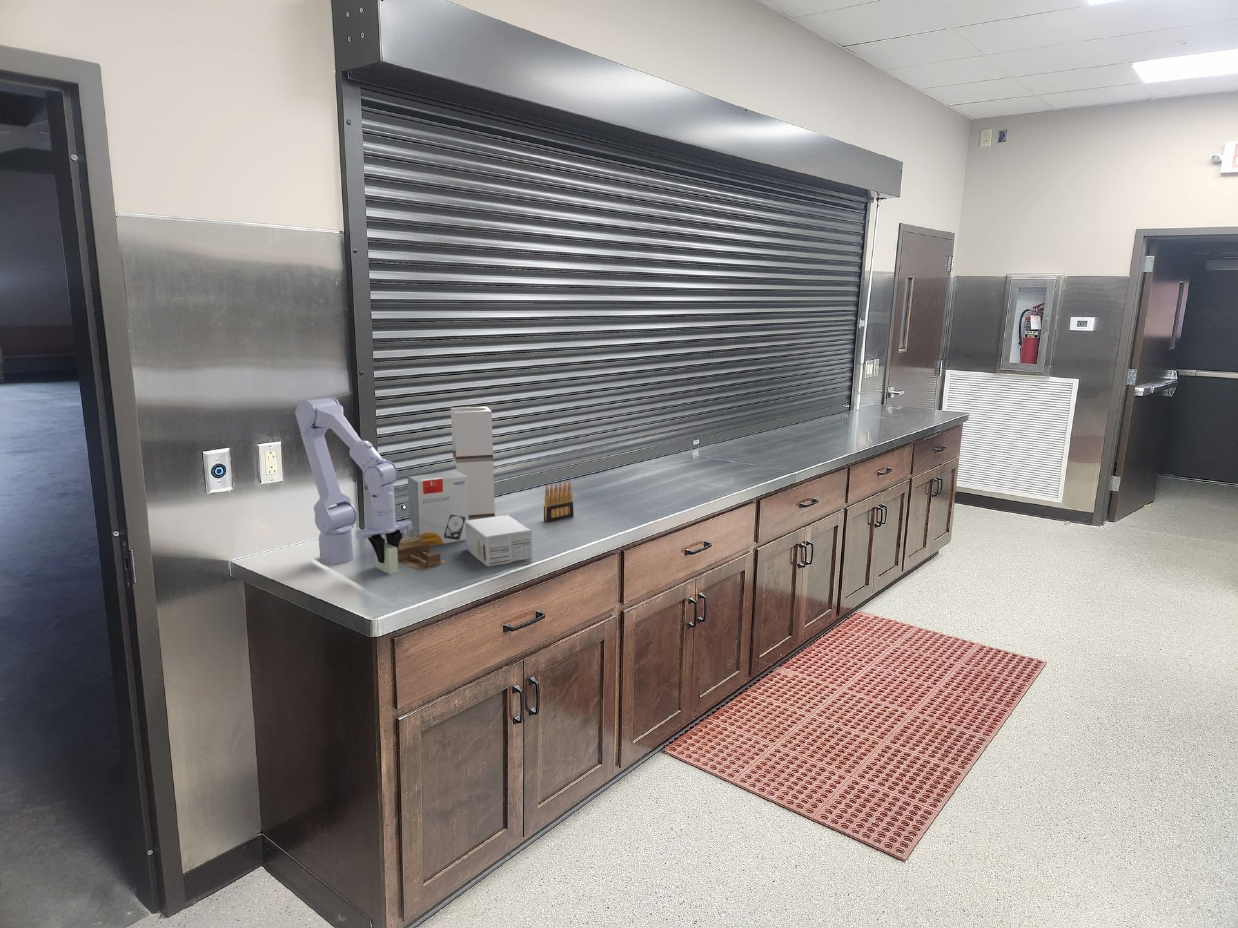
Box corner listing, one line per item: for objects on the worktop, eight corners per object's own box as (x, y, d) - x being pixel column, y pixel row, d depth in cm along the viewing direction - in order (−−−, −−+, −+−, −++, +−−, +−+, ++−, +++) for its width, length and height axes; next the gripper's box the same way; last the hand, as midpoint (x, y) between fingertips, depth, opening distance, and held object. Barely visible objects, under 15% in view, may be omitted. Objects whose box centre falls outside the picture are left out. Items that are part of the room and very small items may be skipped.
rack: (389, 559, 216) (389, 546, 215) (419, 552, 222) (418, 539, 221) (418, 573, 205) (417, 559, 205) (448, 565, 211) (447, 551, 211)
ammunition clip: (547, 522, 252) (546, 485, 249) (543, 521, 253) (542, 484, 251) (573, 516, 259) (573, 480, 256) (570, 515, 260) (570, 479, 257)
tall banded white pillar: (489, 510, 265) (486, 406, 258) (495, 519, 255) (491, 411, 248) (455, 513, 262) (450, 408, 255) (458, 522, 252) (454, 412, 245)
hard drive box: (418, 550, 224) (414, 481, 220) (409, 543, 230) (406, 476, 226) (470, 541, 232) (468, 475, 228) (461, 535, 238) (458, 470, 234)
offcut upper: (396, 548, 216) (395, 541, 215) (415, 543, 220) (414, 536, 219) (402, 551, 213) (402, 543, 213) (421, 546, 218) (421, 538, 217)
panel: (375, 568, 208) (374, 543, 206) (384, 566, 209) (382, 541, 208) (390, 576, 202) (388, 549, 201) (398, 573, 204) (397, 547, 203)
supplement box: (465, 552, 223) (464, 520, 221) (509, 545, 229) (508, 514, 227) (486, 570, 208) (485, 535, 206) (533, 562, 215) (532, 528, 213)
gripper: (363, 518, 195) (367, 571, 198) (416, 507, 205) (419, 558, 207) (350, 512, 200) (354, 564, 203) (403, 502, 210) (406, 552, 212)
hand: (386, 560), depth 205 cm, fingers closed on panel, 2 cm apart
